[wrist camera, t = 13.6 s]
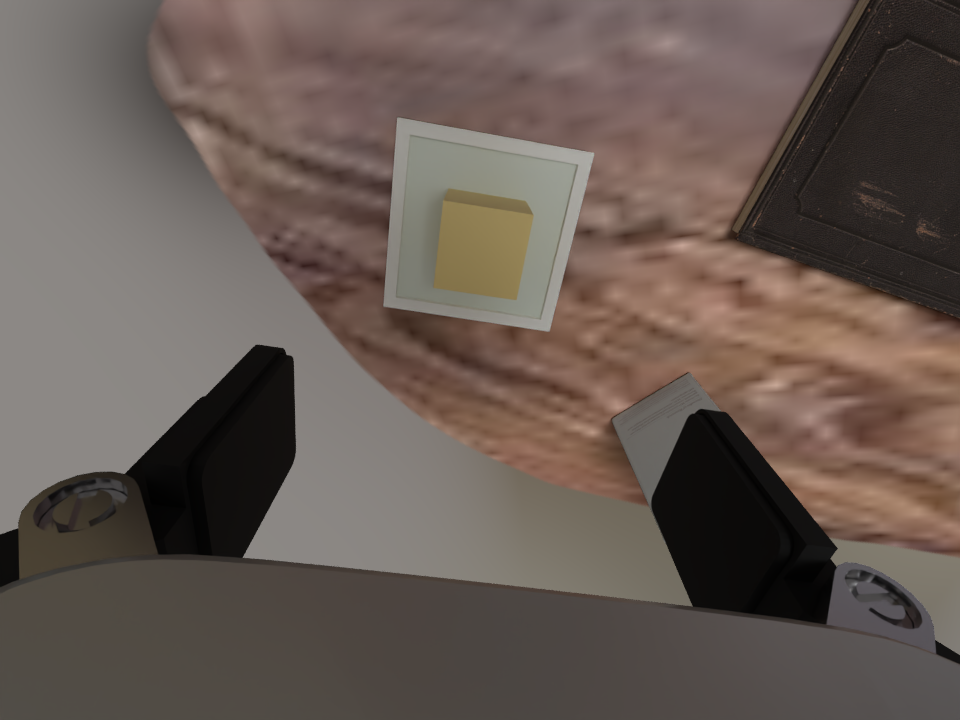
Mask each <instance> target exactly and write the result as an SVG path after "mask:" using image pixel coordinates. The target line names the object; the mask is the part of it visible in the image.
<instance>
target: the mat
mask: <svg viewBox="0 0 960 720" xmlns="http://www.w3.org/2000/svg"><path fill="white" fill-rule="evenodd" d="M593 157H594V153H592V152H587V151H582V150H576V149H571V148H565V147H560V146H554V145H549V144H543V143H538V142H532V141H527V140H521V139H516V138H510V137H505V136H499V135H494V134H488V133H483V132H477V131H472V130H466V129H461V128H455V127H450V126H444V125H439V124H433V123H428V122H422V121H417V120H411V119H406V118H400V117H397V129H396V142H395V156H394V169H393V183H392V196H391V210H390V223H389V237H388V250H387V264H386V277H385V291H384V304H383V307H390V308H397V309H403V310H410V311H416V312H423V313H430V314H436V315H443V316H449V317H456V318H462V319H469V320H476V321H482V322H489V323H495V324H502V325H508V326H515V327H522V328H528V329H535V330H541V331H548V332H550V328H551V324H552V320H553V316H554V312H555V308H556V304H557V300H558V296H559V292H560V288H561V284H562V280H563V276H564V272H565V268H566V264H567V260H568V256H569V252H570V248H571V244H572V240H573V236H574V233H575V229H576V225H577V221H578V217H579V213H580V209H581V205H582V201H583V197H584V193H585V189H586V185H587V181H588V177H589V173H590V169H591V165H592V161H593ZM449 188H450V189H456V190H462V191H469V192H475V193H481V194H487V195H493V196H499V197H505V198H511V199H517V200H523V201H526V202H527V204H528V206H529V207H530V209H531V211H532V213H533V215H534V217H533V221H532V226H531V231H530V236H529V241H528V246H527V251H526V256H525V261H524V266H523V271H522V276H521V281H520V286H519V291H518V296H517V300H511V299H504V298H497V297H491V296H484V295H477V294H471V293H464V292H457V291H450V290H444V289H437V288H433V285H434V277H435V268H436V259H437V251H438V242H439V233H440V225H441V216H442V207H443V200H444V198H445V195H446V193H447V191H448V189H449Z"/></svg>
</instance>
